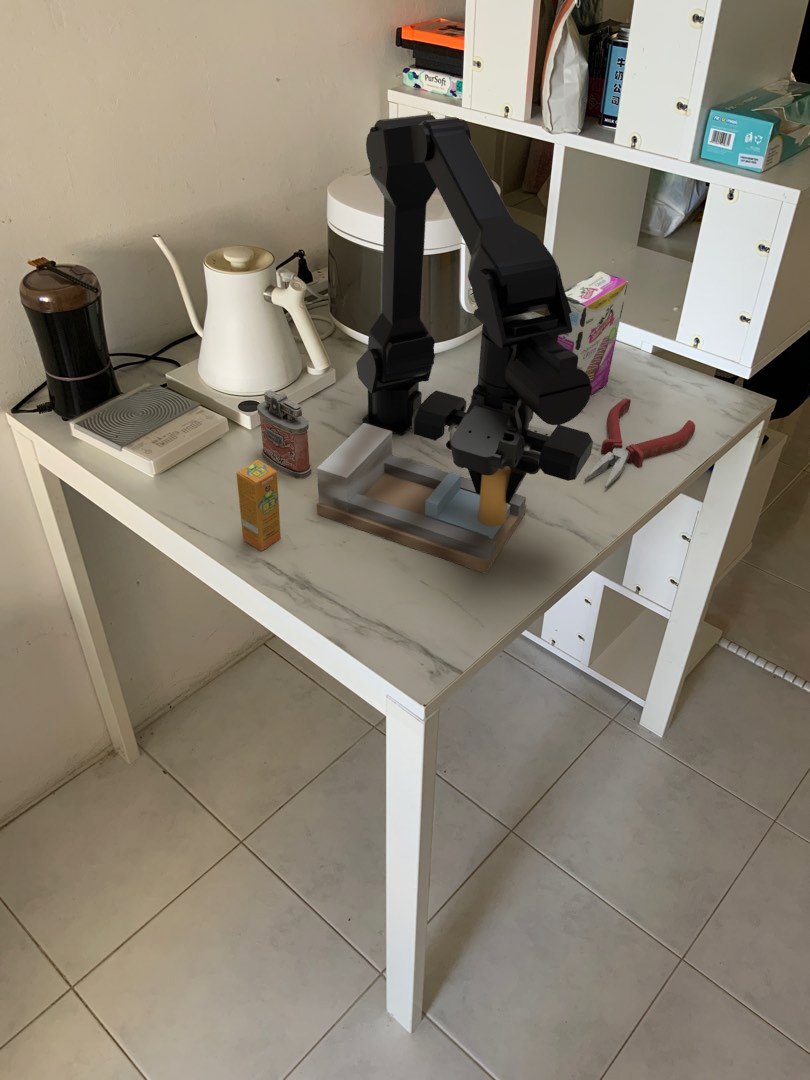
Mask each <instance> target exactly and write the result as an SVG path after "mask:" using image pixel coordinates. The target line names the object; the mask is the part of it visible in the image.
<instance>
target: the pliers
mask: <svg viewBox="0 0 810 1080" xmlns="http://www.w3.org/2000/svg"><path fill="white" fill-rule="evenodd" d="M631 402H632V401H631V399H629V398H623V399H621V400H619V402H618V403H616V404H615V405H614V406H613V407H612V408H611V409H610V410H609V412H608V414H607V417H606V429H607V437H608V438H606V439H604V440H603V441H602V443H601V449H600V455H603V456H602V457H601V458H600V459H599V460H598V462H597V463H596V464H595V465H594V467H593V468H592V469H591V470H590V471H589V473H588V474H587V475H586V476H585V478H584V482H587V481H588V480H590V479H592V478H594V477H596V476H599V475H600V474H602V473H604V472H606V471H607V470H608V467H609V465H612V466H613V467H612V470H611V472H610V474H609V476H608V479H607V481H606V484H604V489H607V488H608V487H609V486H610V485H612V484H613V482H614V481H616V479H617V478H619V477H620V476H621V474H622V473H623V471H624V469H625V466H626V465H627V464H628V465H630V464H633V466H635V468H638V469H639V468H641V467H642V466H643V463H644V460H646V459H649V458H653V457H657V456H659V455H664V454H667V453H671V452H674V451H676V450H679V449H681V448H683V447H684V446H686V445H687V444H688V442H689V440H691V438H692V436H693V435H694V433H695V430H696V424H695V422H694V421H693V420H690V419H689V420H687V421H686V423H685V424H684V425H683V426H682V428H681V429H679V430H678V431H676V432H674V433H671V434H667V435H664V436H660V437H657V438H654V439H653V438H652V439H650V440H646V441H642V442H639V443H635V444H634V443H631V444H629V445H627V446H625V448H623V439H622V433H621V426H620V418H622V417H623V416H624V415H625V414H626V413H627V412H628V411H629V409H630V407H631Z"/></svg>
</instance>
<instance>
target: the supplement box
mask: <svg viewBox="0 0 810 1080" xmlns="http://www.w3.org/2000/svg"><path fill="white" fill-rule="evenodd" d="M235 476H236V481H237V482H236V483H237V491H238V501H239V502H238V503H239V512H240V513H239V514H240V520H241V522H240V523H241V532H242V539H243V540H244V541H245V542H246V543H248V544H249V545H251V546H253V547H254V548H255V549H258V550H260V551H264V550H266V549H267V548H269V547H271V545H273V544H274V543H276V542H277V541H278V540H280V539H281V520H280V505H279V502H280V501H279V488H278V470H277V469H275V468H274V467H271V465H269V464H267V463H265V462H263V461H261V460H260V459H256V460H254V461H253V463H251V464H249V465H248V466H245V467H244V468H240V469H238V470H237V471H236V475H235Z"/></svg>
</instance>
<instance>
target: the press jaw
mask: <svg viewBox="0 0 810 1080" xmlns="http://www.w3.org/2000/svg"><path fill="white" fill-rule="evenodd" d="M510 473H511V469H510V468H509V466H506V467H505V468H504V469H503V470H502V469H498V471H497V472H496V473H495V474H493V475H483V474H482V479H481V490H480V495H478V494H475V493H472V492H469V491H465V490H462V489H460V486H461V477H462V475H461V474H458V473H454V472H452V471H449V472H448V474H447V476H446V477H445V478H444V479H443V480H442V482H441V483H440V484H439V485H438V487H437V488H436V489H435V490H434V491H433V493H432V494H431V495H430V496H429V497H428V499H427V500H426V505H425V516H426V517H429V518H432V519H434V520H437V521H440V522H443V523H446V524H449V525H452V526H455V527H458V528H461V529H464V530H467V531H470V532H473V533H476V534H479V535H482V536H485V537H488V538H491V539H493V538H494V536H495V535H496V533H497V532H498V530H499V529H500V527H501V526H502V525H503V523H504V522H505V521H506V519H507V517H508V516H509V514H510V507H511V505H509V504H508V503H506V491H507V487H508V482H509V478H510Z"/></svg>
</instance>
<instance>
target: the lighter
mask: <svg viewBox="0 0 810 1080" xmlns="http://www.w3.org/2000/svg"><path fill="white" fill-rule="evenodd" d="M263 394H264V401H262V402H260V403H259V404H257V407H256V408H257V413H258V415H259V421H260V431H261V432H260V433H261V441H262V449H261V454H262V455H261V456H262V458H263V459H264V460H265V461H266V462H267V464H268V465H269V466H272V468H273V469H275V470H276V471H279V472H282V473H283V474H285V475H287V476H289V477H291V478H294V479H298V480H299V479H306V478H308V477H310V476H311V475H312V464H310V452H309V435H308V430H309V420H308V419H306V417H304V415H303V410H302V409H303V408H302V407H303V406H301V405H300V404H298V403H296V402H294V401H292V400H291V399H289V398H288V396H287V395H286V393H284V392H280V393H277V392H275V391H273V390H271V389H269V390H266V391H264V392H263Z"/></svg>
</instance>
